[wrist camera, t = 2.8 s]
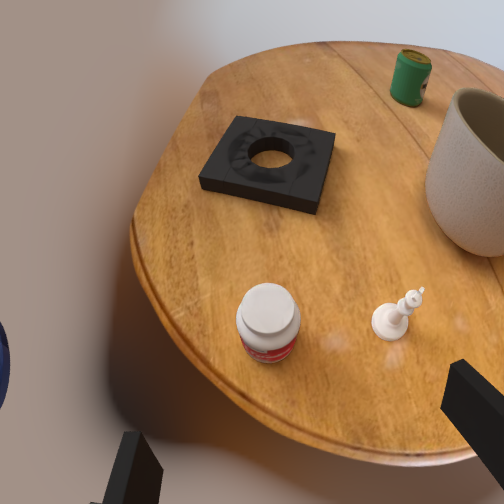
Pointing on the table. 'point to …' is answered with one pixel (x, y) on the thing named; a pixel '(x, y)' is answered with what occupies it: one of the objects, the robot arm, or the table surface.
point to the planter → (470, 173)
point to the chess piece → (395, 316)
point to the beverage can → (410, 77)
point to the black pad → (270, 179)
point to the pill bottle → (268, 322)
